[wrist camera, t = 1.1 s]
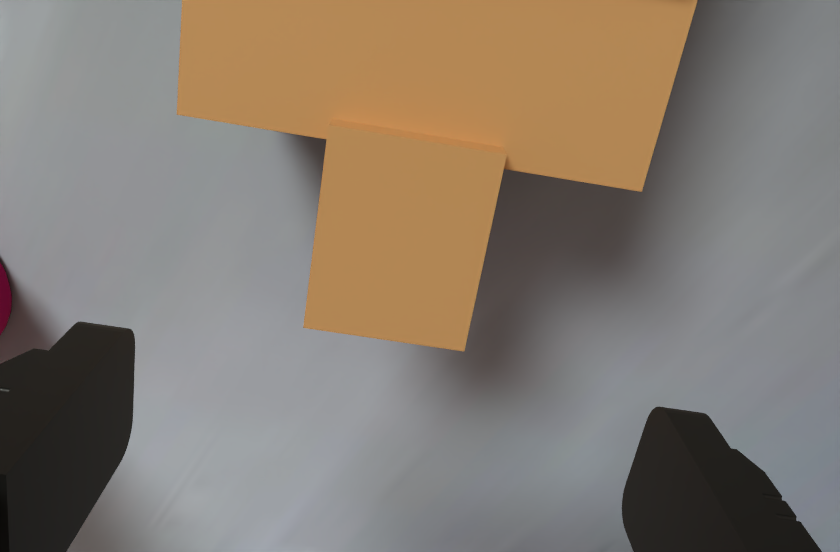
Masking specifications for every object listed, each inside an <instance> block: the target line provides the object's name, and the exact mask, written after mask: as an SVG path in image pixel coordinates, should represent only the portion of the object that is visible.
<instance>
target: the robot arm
mask: <svg viewBox="0 0 840 552" xmlns="http://www.w3.org/2000/svg"><path fill="white" fill-rule="evenodd" d="M134 363H135V338H134V334H133V331H132V330H131V329H128V328H121V327H114V326H107V325H100V324H93V323H86V322H77V323H76V324H75V325H73V326H72V327H71V328H70V329H69V330H68V331H67V332H66V334H65V335H64V336H63V337H62V338H61V339H60V340H59V341H58V342H57V343H56V344H55V345H54V346H53V347H52V348H51V349H50V350H49V351H47V350H40V349H32V350H30V351H28V352H26V353H23V354H21V355H19V356H17V357H15V358H12V359H10V360H8V361H6V362H4V363H1V364H0V552H66V551H67V549H68V548H69V546H70V544H71V543H72V541H73V540H74V538H75V536H76V535H77V533H78V531H79V530H80V528H81V526H82V525H83V523H84V521H85V520H86V518H87V516H88V515H89V513H90V512H91V510H92V508H93V507H94V505H95V503H96V502H97V500H98V498H99V497H100V495H101V493H102V492H103V490H104V488H105V487H106V485H107V484H108V482H109V480H110V479H111V477H112V475H113V474H114V472H115V470H116V469H117V467H118V465H119V464H120V462H121V460H122V458H123V456H124V454H125V451H126V449H127V445H128V442H129V438H130V434H131V429H132V421H133V395H134ZM622 517H623V523H624V528H625V531H626V533H627V536H628V538H629V541H630V543H631V546H632V549H633V551H634V552H822V551H821V550H820V548H819V547H818V546H817V544H816V543H815V542H814V540H813V539H812V537H811V536H810V535H809V533H808V532H807V530H806V529H805V528H804V526H803V525H802V523H801V522H799V521H796V515H795V514H794V512H793V511H792V510H791V508H790V507H789V505H788V504H787V503H786V501H782V496H781V494H780V493H779V492H778V490H777V489H776V487H775V486H774V485H773V483H772V482H771V480H770V479H769V478H768V476H767V475H766V473H765V472H764V471H763V470H761V469H760V468H759V467H758V466H756V465H755V464H754V463H753V462H751V461H750V460H749V459H748V458H747V457H745V456H744V455H743V454H742V453H740V452H739V451H738V450H737V449H731V448H730V446H729V445H728V443H727V442H726V441H725V439H724V438H723V436H722V435H721V433H720V432H719V430H718V429H717V427H716V426H715V424H714V423H713V422H712V420H711V419H710V417H709V416H708V415H706V414H704V413H699V412H692V411H686V410H679V409H672V408H665V407H656V408H654V409H653V410H652V411H651V413H650V414H649V416H648V419H647V421H646V424H645V427H644V430H643V433H642V436H641V439H640V442H639V445H638V448H637V451H636V454H635V458H634V461H633V464H632V467H631V470H630V473H629V476H628V479H627V482H626V485H625V488H624V493H623V500H622Z"/></svg>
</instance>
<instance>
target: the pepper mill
mask: <svg viewBox="0 0 840 552" xmlns="http://www.w3.org/2000/svg"><path fill="white" fill-rule="evenodd" d="M11 302H12V295H11V290H10V285H9V282H8V278H7V275H6V272H5V270H4V268H3V266H2V264H1V263H0V335H1V333H2V332H3V330H4V329H5V327H6V325H7V322H8V319H9V316H10V312H11Z"/></svg>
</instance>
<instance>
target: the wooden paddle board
mask: <svg viewBox="0 0 840 552" xmlns="http://www.w3.org/2000/svg"><path fill="white" fill-rule="evenodd" d="M697 1H698V0H182V15H181V37H180V58H179V80H178V101H177V115H183V116H189V117H195V118H201V119H207V120H213V121H219V122H225V123H231V124H237V125H243V126H249V127H255V128H261V129H267V130H273V131H279V132H285V133H291V134H297V135H303V136H309V137H315V138H321V139H327V140H326V148H325V156H324V165H323V173H322V181H321V189H320V197H319V205H318V213H317V221H316V229H315V238H314V246H313V254H312V262H311V270H310V278H309V286H308V294H307V302H306V310H305V319H304V327H303V328H309V329H316V330H322V331H329V332H336V333H343V334H349V335H356V336H363V337H370V338H376V339H383V340H390V341H397V342H403V343H410V344H417V345H424V346H431V347H437V348H444V349H451V350H458V351H464V350H465V346H466V341H467V336H468V332H469V327H470V323H471V318H472V313H473V309H474V304H475V300H476V295H477V290H478V286H479V281H480V277H481V272H482V267H483V263H484V258H485V253H486V249H487V244H488V240H489V235H490V230H491V226H492V221H493V217H494V212H495V207H496V203H497V198H498V194H499V189H500V184H501V180H502V175H503V170H504V169H507V170H513V171H520V172H526V173H532V174H538V175H544V176H550V177H556V178H562V179H568V180H574V181H580V182H586V183H592V184H598V185H604V186H610V187H616V188H622V189H628V190H634V191H640V192H642V189H643V186H644V182H645V179H646V175H647V172H648V169H649V165H650V162H651V158H652V155H653V151H654V148H655V145H656V141H657V138H658V134H659V131H660V127H661V124H662V121H663V117H664V114H665V110H666V107H667V103H668V100H669V97H670V93H671V90H672V86H673V83H674V79H675V76H676V73H677V69H678V66H679V62H680V59H681V55H682V52H683V49H684V45H685V42H686V38H687V35H688V31H689V28H690V25H691V21H692V18H693V14H694V11H695V7H696V4H697Z"/></svg>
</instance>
